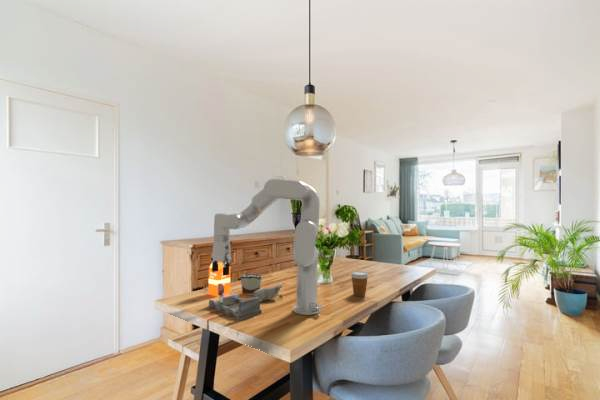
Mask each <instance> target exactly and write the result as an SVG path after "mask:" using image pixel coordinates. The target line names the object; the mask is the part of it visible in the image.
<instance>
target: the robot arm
mask: <svg viewBox="0 0 600 400" xmlns="http://www.w3.org/2000/svg"><path fill="white" fill-rule="evenodd" d="M280 199H283V200H284V199H285V200H294V201H301V209H300V211H301V212H300V221H299V222H298V223H297V225H296V226H295V229H294V236H293V249H292V258H293V261H294V263H295V264H296V265H297V266H296V295H295V296H296V297H295V298H296V299H295V300H296V305H294V306H292V311H293V312H294V314H297V315H302V316H313V315H317V314H319V313H321V311H322V309H323V306H322V305H319V301H317V300H318V297H317V296H318V290H317V289H318V261H319V251H318V249H317V246H316V241H317V239H316V238H317V237H318V234H319V223H320V206H321V205H320V204H321V203H320V198H319V195H318V192H317V191H316V189H315V188H314V187H312V186H311V185H309V184H307V183H306V182H303V181H299V180H291V179H290V180H289V179H279V178H271V179H268V180H267V181H266V182H265V183H264V186H263V189H261V190H260V191H258V192H257V194H255V195H254V196H253V197H252V198H251V203H250V204H249V205H248V206H247V207H246V208H245V209H243V210H242V211H241V212H239V213H230V214H229V213H220V212H219V213H215V215H214V216H213V217H214V219H213V220H214V221H213V222H214V223H213V244H212V252H211V253H210V260H211V263H212V272H216V271H218V262H221V263H223V265H224V267H223V275H229V267H230V268H231V264H232V260H233V258H232V255H231V253H232V251H231V250H232V249H231V248H232V247H231V243H230V231H231V230H239V229H243V228H246V227H247V226H249V225H250V224H252V223H253V222H254V221H256V220H257V218H259V217H260V215H262V214H263V213H264V212H265V211H266V210H267V209H268V208H270V207H271V206H272V205H274V204H275V203H276V202H277V201H278V200H280ZM225 263H226V264H225Z"/></svg>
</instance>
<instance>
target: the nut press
mask: <svg viewBox="0 0 600 400" xmlns="http://www.w3.org/2000/svg"><path fill="white" fill-rule="evenodd" d="M208 307H209V308H211V309H213V310H216V311H218V312H220V313H223V314H225V316H226V315H227V316H229V317H231V318H233V319H235V320H237V321H243V320H246V319H249V318H252V317H255V316H257V315H261V314H262V313H263V312H262V309H261V299H260V297H258V296H256V297H253V298H252V297H250V298H249V297H248V298H246V299H243V298H240V297H239V302H238V303H234V304H231V305H227V306H224V305H222V304H220V303H219V300H217V301H215V300H213V299H209V300H208Z"/></svg>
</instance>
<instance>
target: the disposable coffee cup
mask: <svg viewBox="0 0 600 400" xmlns="http://www.w3.org/2000/svg"><path fill="white" fill-rule="evenodd" d="M350 276H351V283H352V292H353V295H354V296H355V297H365V296H366V293H367V292H366V291H367V284H368V278H369V274H368V272H366V271H362V270H361V271H358V270H357V271H352V272H351V273H350Z"/></svg>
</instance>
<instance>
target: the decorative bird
mask: <svg viewBox="0 0 600 400" xmlns="http://www.w3.org/2000/svg"><path fill="white" fill-rule="evenodd" d="M281 288H283V284H279V285H275V286H271V287H269V286H268V287H265V288H260V289H258V290H256V291H254V293H253V294H251V295H252V296H251V298H253V297H256V296H258V297H260V301H269V300H273V299H275V298H277V296H279V298H280V300H283V298H284V297H283V296H284V294H282V293H281V292H280V290H281ZM279 293H280V294H279Z"/></svg>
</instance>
